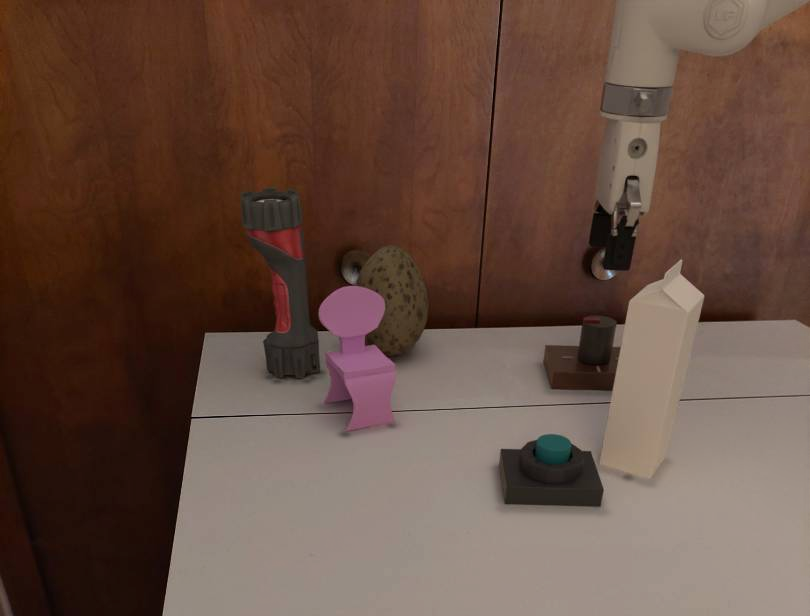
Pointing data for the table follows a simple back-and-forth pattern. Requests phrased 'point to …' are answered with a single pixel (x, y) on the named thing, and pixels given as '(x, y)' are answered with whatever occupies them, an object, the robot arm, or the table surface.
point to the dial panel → (578, 369)
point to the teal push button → (553, 449)
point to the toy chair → (358, 356)
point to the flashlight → (283, 278)
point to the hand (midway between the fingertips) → (608, 257)
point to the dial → (596, 340)
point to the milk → (651, 373)
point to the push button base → (549, 478)
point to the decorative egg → (395, 299)
